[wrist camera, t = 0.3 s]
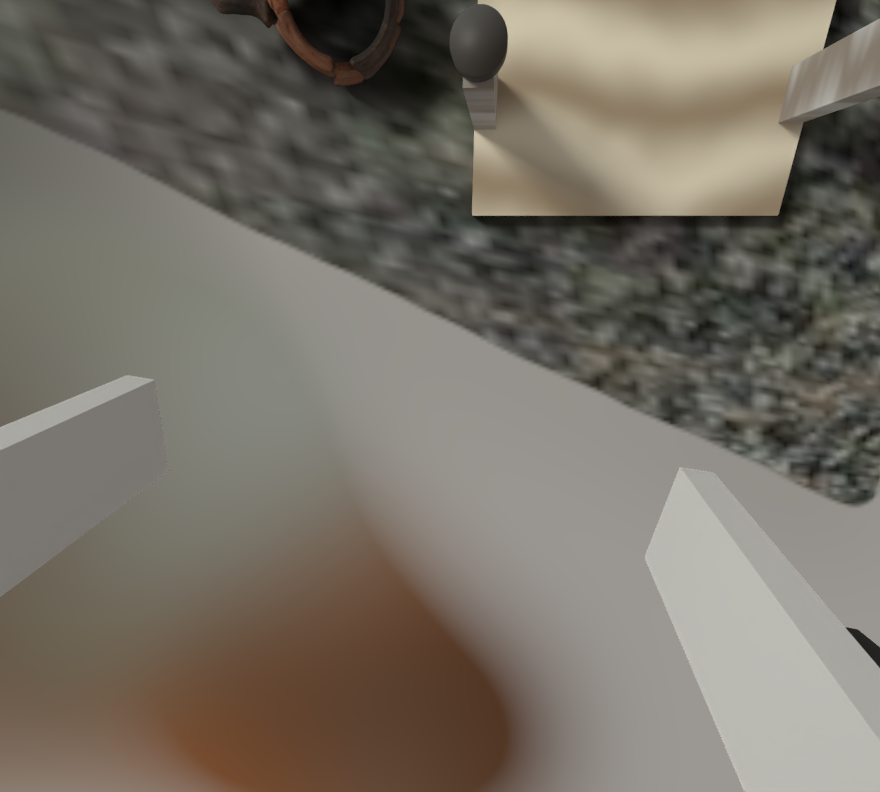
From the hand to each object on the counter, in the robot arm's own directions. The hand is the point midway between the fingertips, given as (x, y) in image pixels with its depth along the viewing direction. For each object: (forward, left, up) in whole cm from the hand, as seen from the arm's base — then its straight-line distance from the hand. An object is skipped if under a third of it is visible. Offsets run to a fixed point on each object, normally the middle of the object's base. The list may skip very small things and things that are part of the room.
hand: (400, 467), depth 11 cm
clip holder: (-13, +11, -27) cm, 32 cm away
